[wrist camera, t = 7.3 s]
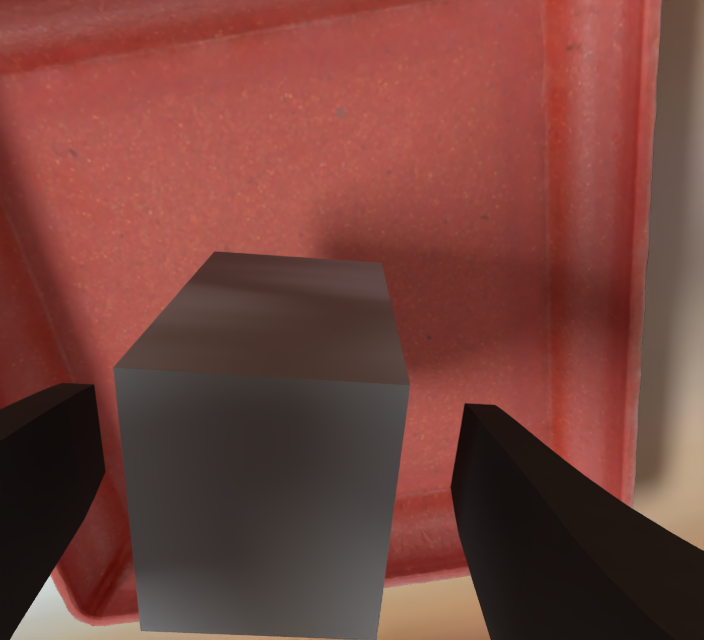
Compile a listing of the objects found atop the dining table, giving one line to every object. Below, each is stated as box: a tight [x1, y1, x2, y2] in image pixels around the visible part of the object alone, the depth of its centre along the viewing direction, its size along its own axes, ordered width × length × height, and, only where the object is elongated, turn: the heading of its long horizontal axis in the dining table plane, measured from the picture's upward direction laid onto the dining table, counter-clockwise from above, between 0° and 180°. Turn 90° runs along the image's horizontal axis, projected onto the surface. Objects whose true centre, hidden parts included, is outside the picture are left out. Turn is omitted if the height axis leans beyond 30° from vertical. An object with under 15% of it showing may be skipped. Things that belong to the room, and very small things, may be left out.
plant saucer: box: [0, 0, 662, 626], centre depth 15 cm, size 18×18×3 cm
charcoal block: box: [113, 251, 410, 640], centre depth 11 cm, size 4×5×6 cm
